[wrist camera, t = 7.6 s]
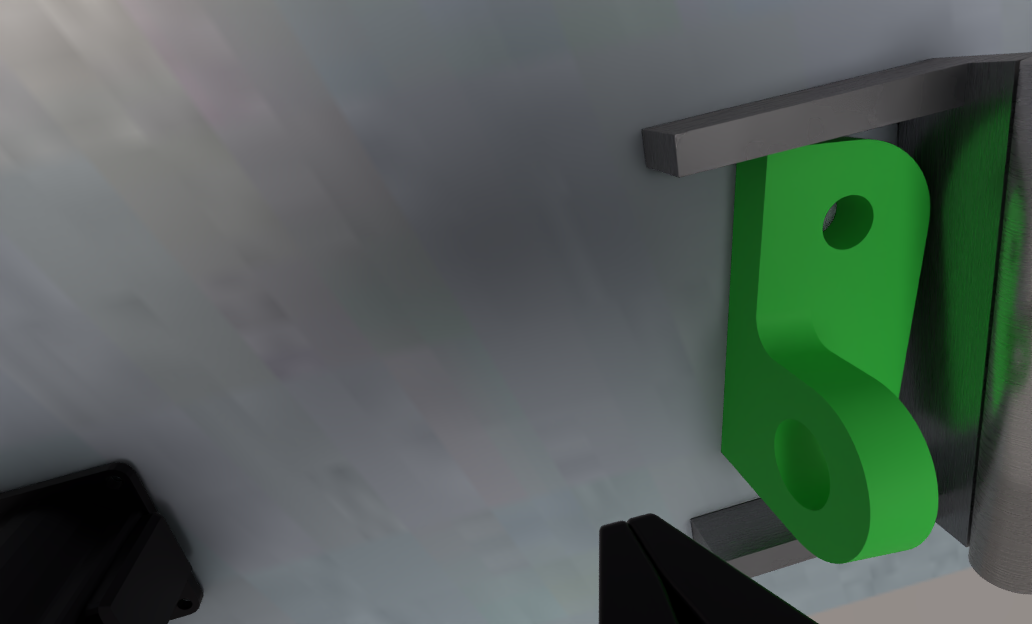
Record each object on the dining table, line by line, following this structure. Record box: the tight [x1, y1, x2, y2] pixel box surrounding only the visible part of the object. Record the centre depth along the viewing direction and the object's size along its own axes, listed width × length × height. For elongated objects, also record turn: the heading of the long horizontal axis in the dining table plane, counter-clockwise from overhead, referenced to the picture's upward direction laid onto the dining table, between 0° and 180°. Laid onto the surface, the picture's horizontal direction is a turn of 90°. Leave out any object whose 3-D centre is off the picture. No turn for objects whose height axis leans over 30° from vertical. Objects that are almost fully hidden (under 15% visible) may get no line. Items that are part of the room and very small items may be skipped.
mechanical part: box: [721, 136, 938, 564], centre depth 19 cm, size 12×6×8 cm, turn 5°
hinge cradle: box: [642, 52, 1032, 594], centre depth 20 cm, size 15×17×6 cm
